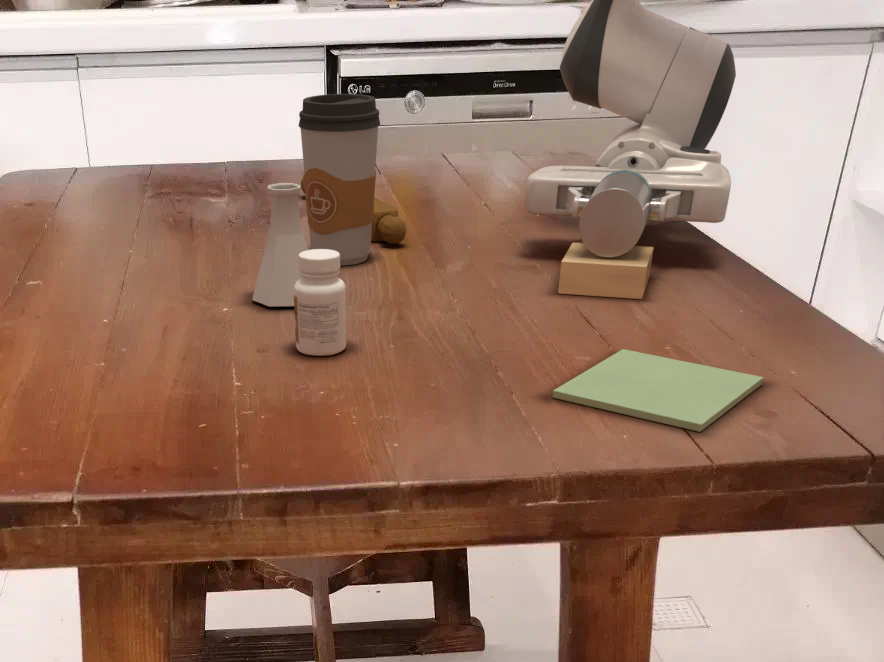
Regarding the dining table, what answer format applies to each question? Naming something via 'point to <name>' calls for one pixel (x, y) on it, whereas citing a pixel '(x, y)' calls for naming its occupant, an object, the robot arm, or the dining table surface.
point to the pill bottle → (320, 304)
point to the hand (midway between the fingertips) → (618, 210)
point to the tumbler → (616, 213)
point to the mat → (659, 389)
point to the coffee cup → (340, 172)
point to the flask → (281, 248)
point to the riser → (605, 272)
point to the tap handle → (383, 222)
